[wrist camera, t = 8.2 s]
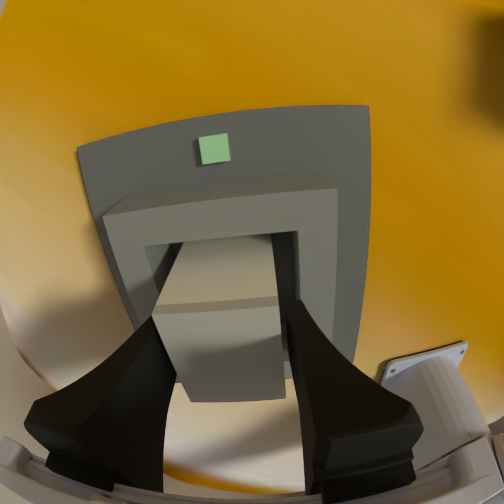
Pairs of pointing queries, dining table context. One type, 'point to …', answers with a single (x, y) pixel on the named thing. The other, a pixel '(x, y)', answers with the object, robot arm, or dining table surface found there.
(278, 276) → the socket dock
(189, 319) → the plug
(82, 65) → the dining table surface
